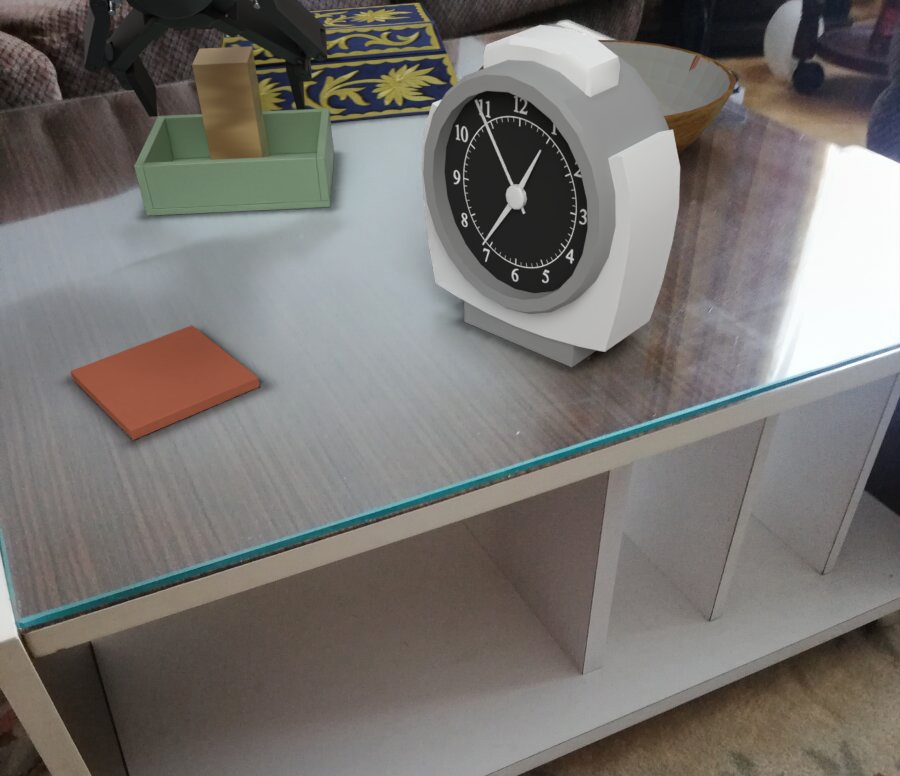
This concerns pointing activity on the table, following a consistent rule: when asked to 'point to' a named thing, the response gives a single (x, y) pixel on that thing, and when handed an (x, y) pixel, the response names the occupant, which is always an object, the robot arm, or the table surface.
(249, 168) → the bin
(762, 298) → the table surface
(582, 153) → the alarm clock
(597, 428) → the table surface
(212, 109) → the block
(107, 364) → the mat
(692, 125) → the bowl
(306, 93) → the decorative box
